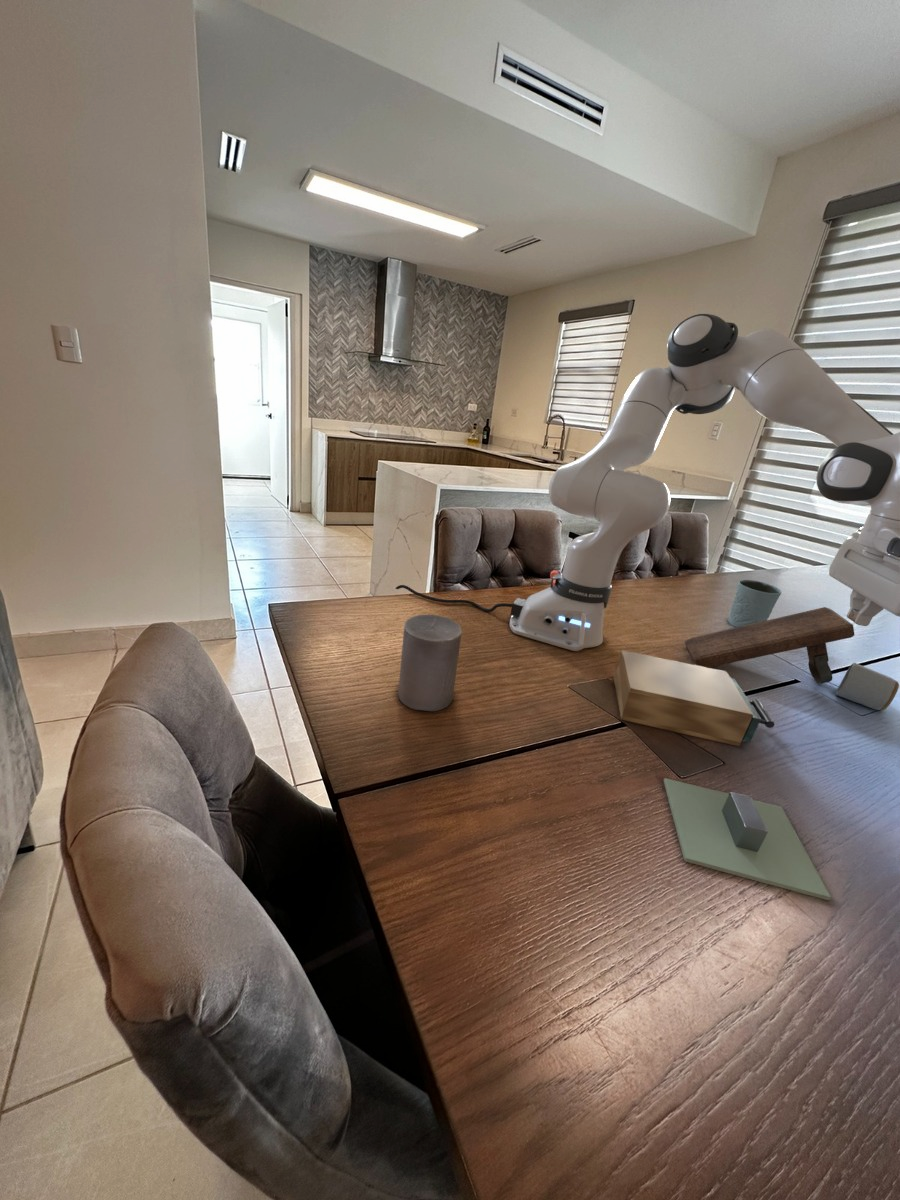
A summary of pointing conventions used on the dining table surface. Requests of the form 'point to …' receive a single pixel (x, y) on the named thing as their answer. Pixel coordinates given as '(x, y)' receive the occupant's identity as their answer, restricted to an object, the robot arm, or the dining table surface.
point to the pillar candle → (429, 662)
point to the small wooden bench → (775, 640)
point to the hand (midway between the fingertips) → (856, 622)
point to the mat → (715, 847)
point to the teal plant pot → (753, 602)
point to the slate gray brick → (744, 822)
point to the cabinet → (680, 698)
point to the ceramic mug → (868, 687)
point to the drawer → (754, 715)
